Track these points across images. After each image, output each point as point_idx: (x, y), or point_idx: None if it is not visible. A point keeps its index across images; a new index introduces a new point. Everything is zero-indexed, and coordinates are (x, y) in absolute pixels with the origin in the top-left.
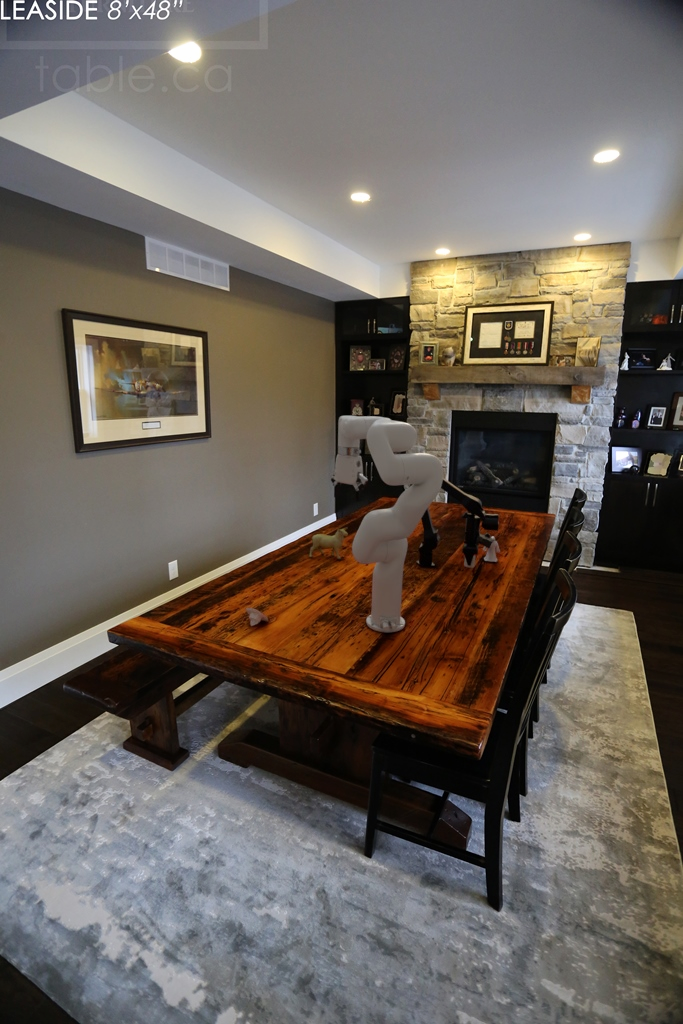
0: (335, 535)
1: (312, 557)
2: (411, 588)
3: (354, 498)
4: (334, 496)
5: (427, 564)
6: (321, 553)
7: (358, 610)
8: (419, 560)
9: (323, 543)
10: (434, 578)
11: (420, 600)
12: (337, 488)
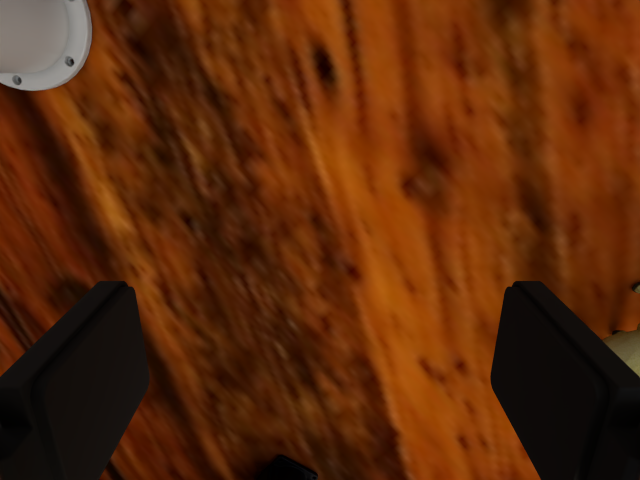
0: None
1: (632, 288)
2: (184, 309)
3: (102, 301)
4: (535, 283)
5: (265, 471)
6: (621, 332)
7: (166, 35)
8: (297, 477)
9: (626, 339)
10: (192, 412)
11: (98, 255)
12: (570, 405)
